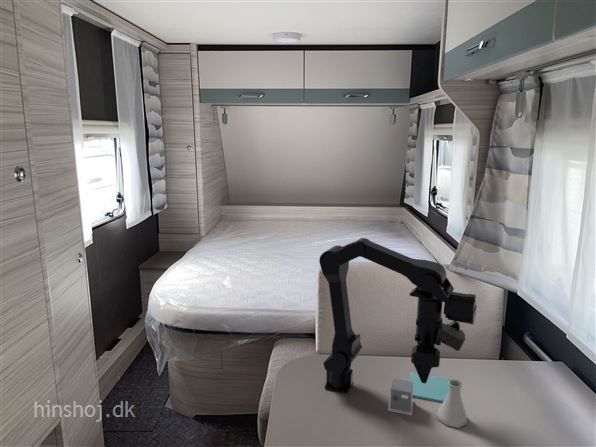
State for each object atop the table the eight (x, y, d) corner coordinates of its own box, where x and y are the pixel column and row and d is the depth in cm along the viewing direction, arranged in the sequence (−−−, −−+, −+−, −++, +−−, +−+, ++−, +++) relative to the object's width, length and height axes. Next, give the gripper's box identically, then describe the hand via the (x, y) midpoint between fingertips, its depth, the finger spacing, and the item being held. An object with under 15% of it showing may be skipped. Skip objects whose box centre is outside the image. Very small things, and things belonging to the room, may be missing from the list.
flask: (471, 417, 110) (475, 382, 108) (460, 432, 105) (464, 395, 103) (443, 405, 115) (446, 371, 113) (431, 419, 110) (434, 383, 107)
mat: (406, 395, 119) (406, 393, 119) (409, 374, 129) (410, 372, 129) (449, 403, 116) (449, 401, 116) (449, 380, 126) (449, 379, 126)
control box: (387, 410, 113) (388, 389, 112) (390, 397, 119) (391, 377, 117) (411, 415, 111) (413, 394, 110) (413, 401, 117) (415, 381, 115)
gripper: (465, 337, 96) (459, 400, 100) (463, 304, 113) (458, 359, 117) (413, 329, 100) (408, 391, 103) (418, 298, 117) (414, 352, 120)
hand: (424, 372), depth 111 cm, fingers open, 9 cm apart
